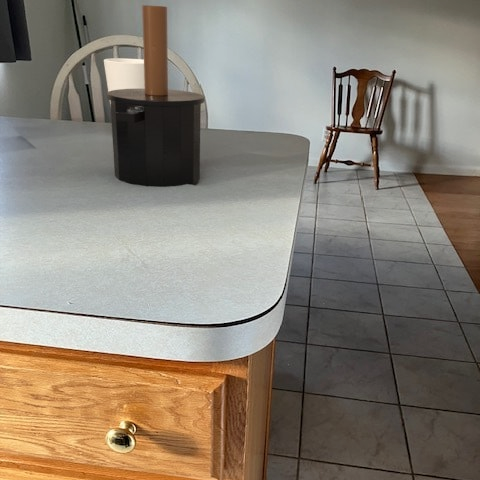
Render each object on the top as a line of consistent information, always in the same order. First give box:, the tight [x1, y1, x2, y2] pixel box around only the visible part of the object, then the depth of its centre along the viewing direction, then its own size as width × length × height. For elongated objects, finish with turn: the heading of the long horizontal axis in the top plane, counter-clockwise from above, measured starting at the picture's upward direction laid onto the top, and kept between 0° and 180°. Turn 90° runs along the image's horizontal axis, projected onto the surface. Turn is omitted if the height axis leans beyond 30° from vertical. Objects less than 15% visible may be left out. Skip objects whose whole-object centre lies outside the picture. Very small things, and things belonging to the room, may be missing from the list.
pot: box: [109, 100, 202, 188], centre depth 73 cm, size 12×17×10 cm
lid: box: [106, 4, 206, 106], centre depth 69 cm, size 13×13×11 cm
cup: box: [103, 57, 145, 107], centre depth 101 cm, size 10×10×13 cm
